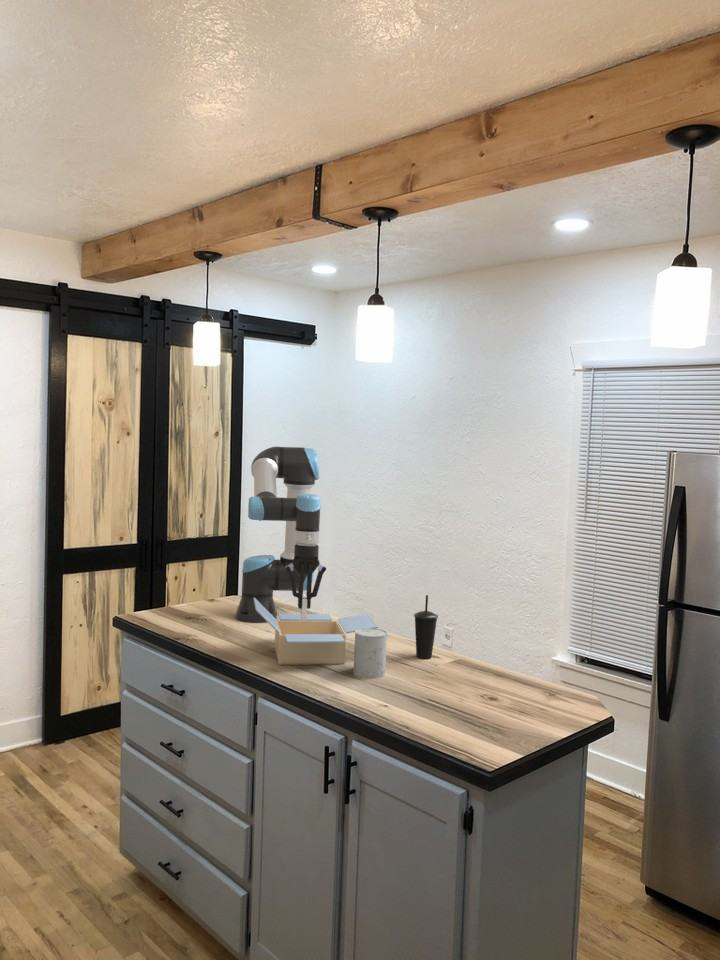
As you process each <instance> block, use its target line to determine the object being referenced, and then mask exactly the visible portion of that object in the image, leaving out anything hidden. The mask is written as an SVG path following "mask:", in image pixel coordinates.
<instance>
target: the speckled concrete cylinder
mask: <svg viewBox="0 0 720 960" xmlns="http://www.w3.org/2000/svg"><path fill="white" fill-rule="evenodd" d="M387 640H388V632H387V631H386V630H384V629H380V628H376V629H374V628H363V629H358V630H356V631H355V632H354V651H353V671H352V673H353V675H354V676H356V677H359V678H363V679H371V680H372V679H380V678H383V677H385V676H386V666H387V665H386V662H387V643H388V641H387Z"/></svg>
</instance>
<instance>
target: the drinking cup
mask: <svg viewBox="0 0 720 960" xmlns="http://www.w3.org/2000/svg"><path fill="white" fill-rule="evenodd" d="M428 604H429V595H428V594H427V595H425V606H424V607H425V609H424V610H420V611H418V612H415V613H413V617H414V627H415V628H414V629H415V649H416V650H415V651H416V653H415V655H416V658H418V659H421V660H429V659H432V657H433V648H434V644H435V643H434V642H435V635H436V627H437V621H438V618H439V615H438V614H436V613H434V612H432V611H429V610H428V607H429V606H428Z"/></svg>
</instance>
